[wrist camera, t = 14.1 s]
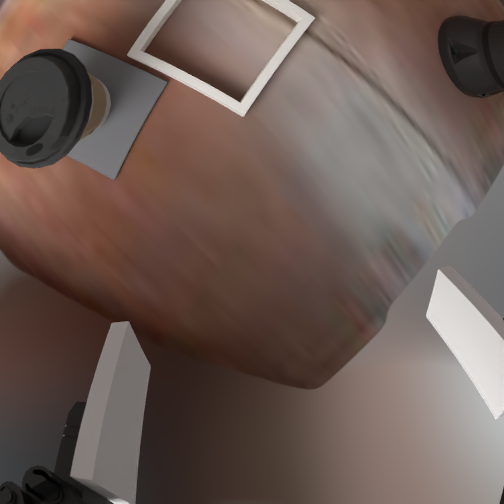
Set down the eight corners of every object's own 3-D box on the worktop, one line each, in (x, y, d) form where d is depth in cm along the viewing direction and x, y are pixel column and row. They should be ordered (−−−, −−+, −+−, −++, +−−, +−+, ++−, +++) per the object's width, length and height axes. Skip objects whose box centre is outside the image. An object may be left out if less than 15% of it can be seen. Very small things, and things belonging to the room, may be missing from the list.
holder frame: (310, 21, 30) (315, 17, 29) (241, 116, 35) (243, 116, 33) (203, -37, 25) (203, -43, 23) (130, 57, 30) (126, 55, 28)
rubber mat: (168, 82, 32) (167, 82, 31) (115, 178, 36) (114, 180, 36) (70, 39, 26) (68, 39, 26) (26, 132, 31) (24, 133, 30)
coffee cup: (61, 161, 33) (-3, 192, 20) (42, 85, 28) (-27, 83, 15) (136, 132, 33) (96, 145, 20) (117, 51, 28) (70, 21, 15)
